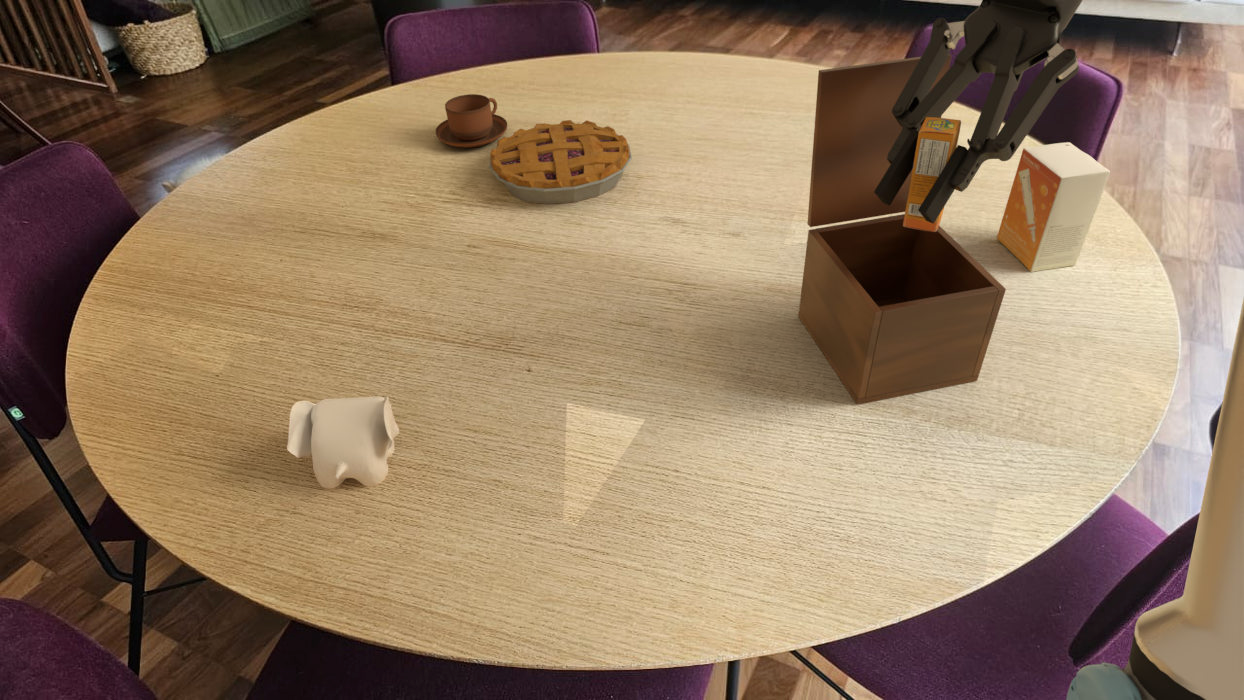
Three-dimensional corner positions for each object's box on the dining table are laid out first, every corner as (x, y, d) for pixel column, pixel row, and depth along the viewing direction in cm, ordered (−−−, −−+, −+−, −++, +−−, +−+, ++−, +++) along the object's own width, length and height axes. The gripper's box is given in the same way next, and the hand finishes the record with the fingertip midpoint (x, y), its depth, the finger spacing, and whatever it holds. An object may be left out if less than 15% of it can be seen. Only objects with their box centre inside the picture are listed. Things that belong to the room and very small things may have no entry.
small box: (994, 239, 106) (1021, 146, 97) (1040, 233, 106) (1070, 140, 98) (1029, 273, 99) (1061, 177, 91) (1077, 266, 100) (1113, 170, 92)
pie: (483, 155, 132) (478, 126, 128) (613, 135, 135) (611, 106, 132) (501, 220, 115) (496, 188, 112) (649, 195, 119) (648, 164, 115)
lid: (951, 54, 79) (919, 40, 84) (821, 72, 77) (796, 56, 82) (926, 208, 89) (899, 187, 94) (810, 227, 87) (788, 204, 92)
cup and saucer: (459, 120, 143) (452, 86, 139) (520, 127, 139) (515, 92, 135) (424, 149, 134) (416, 113, 130) (488, 157, 131) (482, 121, 127)
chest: (977, 380, 85) (1006, 289, 77) (856, 404, 83) (874, 312, 75) (904, 297, 97) (923, 210, 89) (798, 316, 95) (808, 229, 87)
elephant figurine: (422, 420, 84) (404, 354, 78) (402, 511, 75) (379, 444, 69) (330, 425, 84) (305, 359, 78) (299, 516, 75) (268, 450, 69)
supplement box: (905, 210, 79) (926, 113, 73) (942, 217, 78) (966, 119, 72) (898, 227, 77) (919, 128, 71) (935, 234, 76) (960, 134, 69)
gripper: (1149, 18, 69) (998, 257, 72) (968, -18, 79) (841, 191, 82) (1145, -35, 63) (980, 227, 66) (949, -67, 73) (813, 161, 76)
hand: (903, 207), depth 74 cm, fingers closed on supplement box, 4 cm apart
